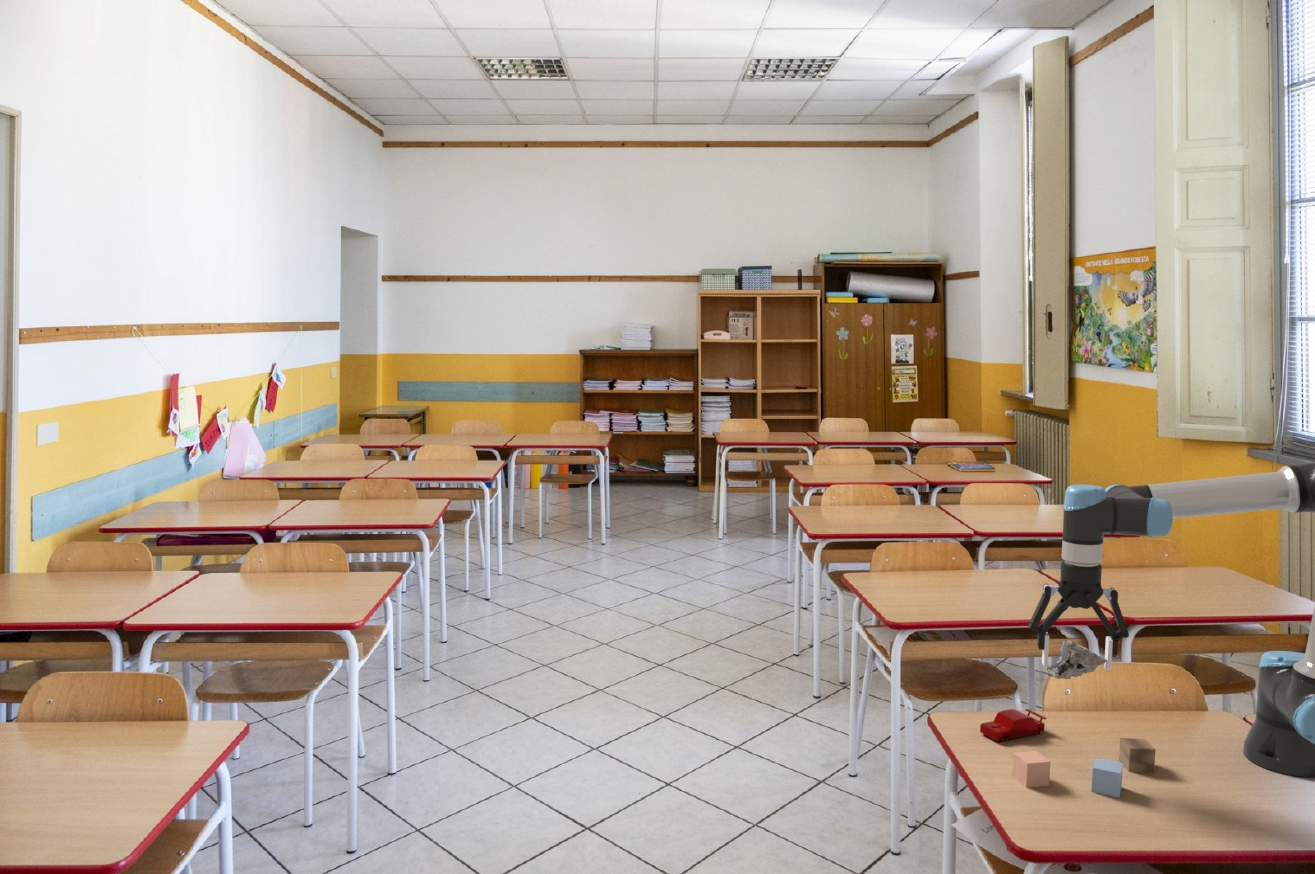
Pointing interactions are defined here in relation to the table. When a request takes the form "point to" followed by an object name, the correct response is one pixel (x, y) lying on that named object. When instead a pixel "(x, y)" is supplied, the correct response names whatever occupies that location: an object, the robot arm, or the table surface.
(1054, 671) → the mineral specimen
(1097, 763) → the slate-blue cube
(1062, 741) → the table surface
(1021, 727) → the toy car
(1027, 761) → the salmon-pink cube
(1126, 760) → the walnut cube
